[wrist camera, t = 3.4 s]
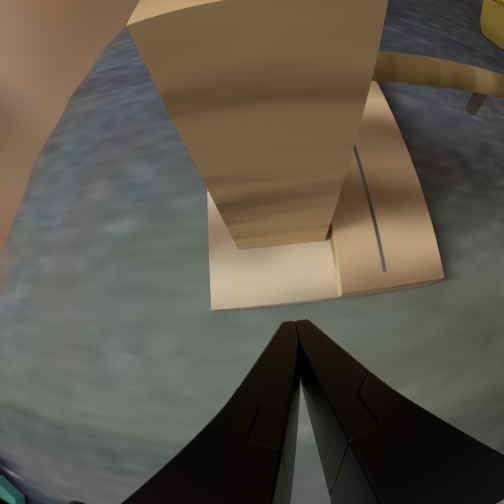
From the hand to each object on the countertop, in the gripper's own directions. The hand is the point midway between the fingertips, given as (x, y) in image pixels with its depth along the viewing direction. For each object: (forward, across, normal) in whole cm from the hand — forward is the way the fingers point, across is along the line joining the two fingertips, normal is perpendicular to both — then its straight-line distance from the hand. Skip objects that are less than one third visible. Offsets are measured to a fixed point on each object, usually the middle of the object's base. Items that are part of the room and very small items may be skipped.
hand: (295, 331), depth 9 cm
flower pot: (+38, +46, +21) cm, 63 cm away
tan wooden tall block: (+14, +5, -1) cm, 15 cm away
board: (+18, +3, +2) cm, 18 cm away
